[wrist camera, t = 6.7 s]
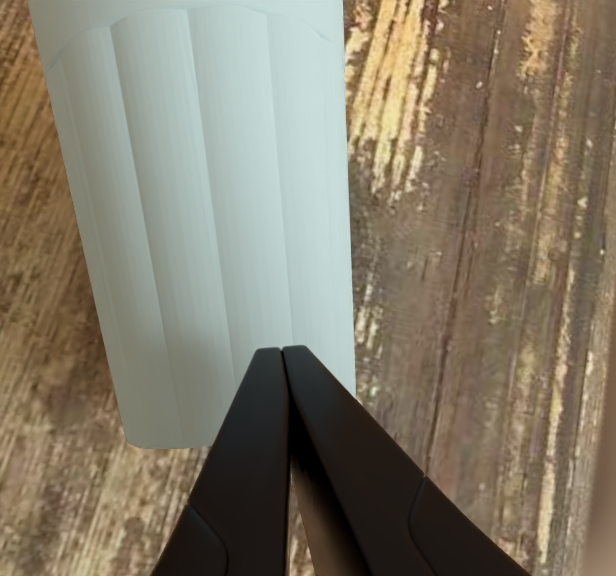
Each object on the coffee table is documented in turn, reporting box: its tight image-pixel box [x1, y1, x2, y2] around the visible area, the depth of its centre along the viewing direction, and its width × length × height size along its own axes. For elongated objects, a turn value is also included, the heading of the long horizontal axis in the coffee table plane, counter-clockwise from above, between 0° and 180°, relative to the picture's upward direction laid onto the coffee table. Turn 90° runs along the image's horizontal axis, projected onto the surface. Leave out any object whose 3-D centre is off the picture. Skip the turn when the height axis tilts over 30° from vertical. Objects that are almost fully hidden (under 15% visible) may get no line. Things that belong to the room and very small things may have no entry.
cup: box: [28, 0, 356, 449], centre depth 13 cm, size 8×8×10 cm
